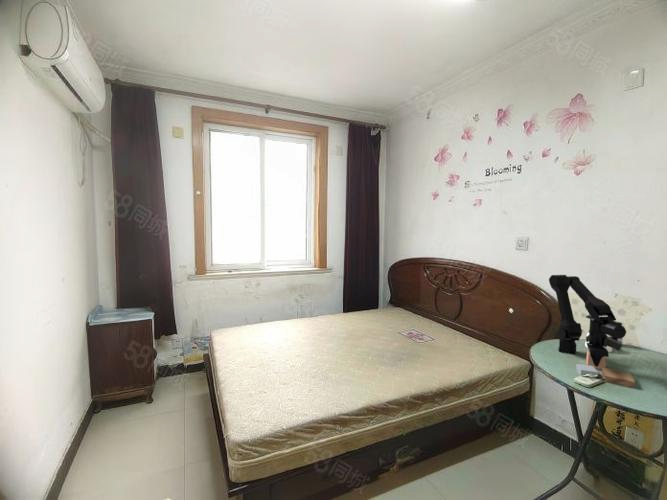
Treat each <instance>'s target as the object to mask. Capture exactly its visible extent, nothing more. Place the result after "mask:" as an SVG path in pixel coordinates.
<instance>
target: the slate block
mask: <svg viewBox="0 0 667 500" xmlns="http://www.w3.org/2000/svg"><path fill="white" fill-rule="evenodd" d="M575 371H576V372H577V374H578V375H579V376H580V375H586V374H592V375H597V376H598V377H599V371H598V369H595V368H594V367H593V366H589V365H587V364H580V363H575Z"/></svg>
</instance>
